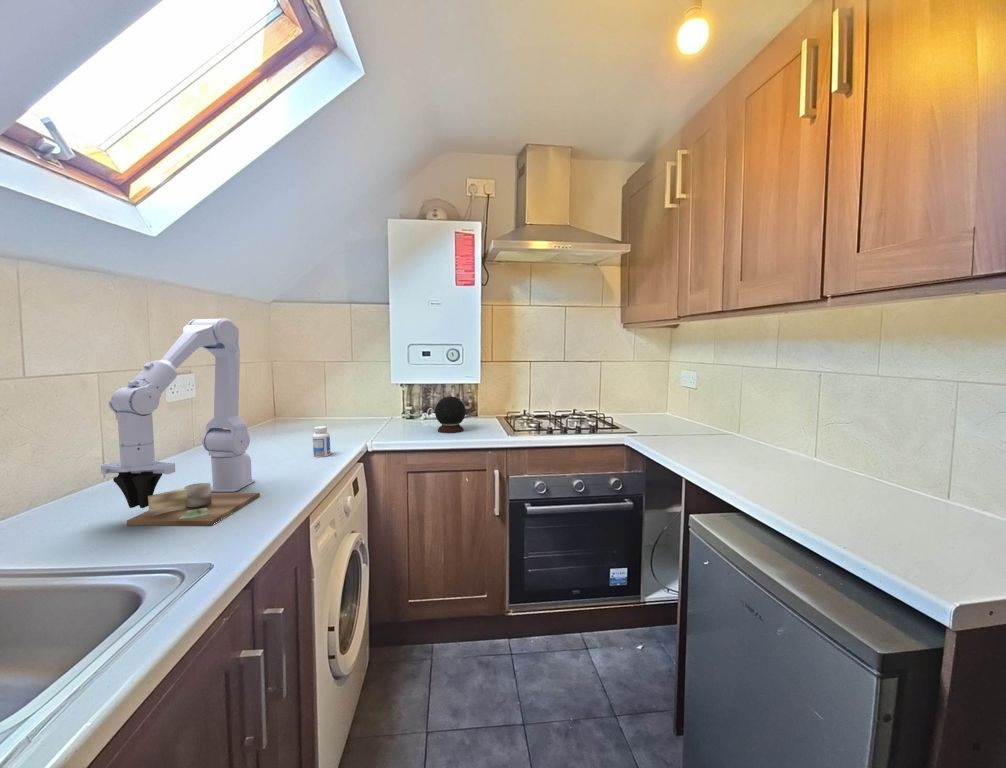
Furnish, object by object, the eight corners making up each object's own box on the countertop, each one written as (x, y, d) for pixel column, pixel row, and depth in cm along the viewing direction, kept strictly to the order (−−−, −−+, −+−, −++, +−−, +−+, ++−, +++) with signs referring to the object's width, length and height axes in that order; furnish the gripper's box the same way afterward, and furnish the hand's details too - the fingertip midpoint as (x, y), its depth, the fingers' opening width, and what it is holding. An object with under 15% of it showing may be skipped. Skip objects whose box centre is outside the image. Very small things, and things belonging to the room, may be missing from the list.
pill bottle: (325, 452, 158) (324, 425, 157) (333, 455, 155) (332, 426, 154) (310, 455, 154) (309, 427, 153) (318, 458, 150) (317, 429, 150)
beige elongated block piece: (206, 498, 107) (205, 481, 107) (215, 502, 104) (214, 485, 104) (146, 512, 98) (145, 494, 97) (154, 517, 95) (152, 499, 94)
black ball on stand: (435, 434, 190) (434, 398, 189) (435, 428, 203) (434, 395, 202) (467, 433, 192) (466, 397, 191) (464, 427, 205) (464, 394, 204)
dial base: (187, 496, 113) (187, 491, 113) (259, 496, 112) (259, 491, 112) (126, 525, 95) (126, 519, 95) (212, 525, 94) (211, 519, 94)
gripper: (85, 447, 92) (90, 512, 93) (155, 447, 92) (159, 513, 93) (115, 440, 99) (119, 501, 100) (181, 440, 99) (184, 501, 100)
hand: (140, 506), depth 97 cm, fingers closed
